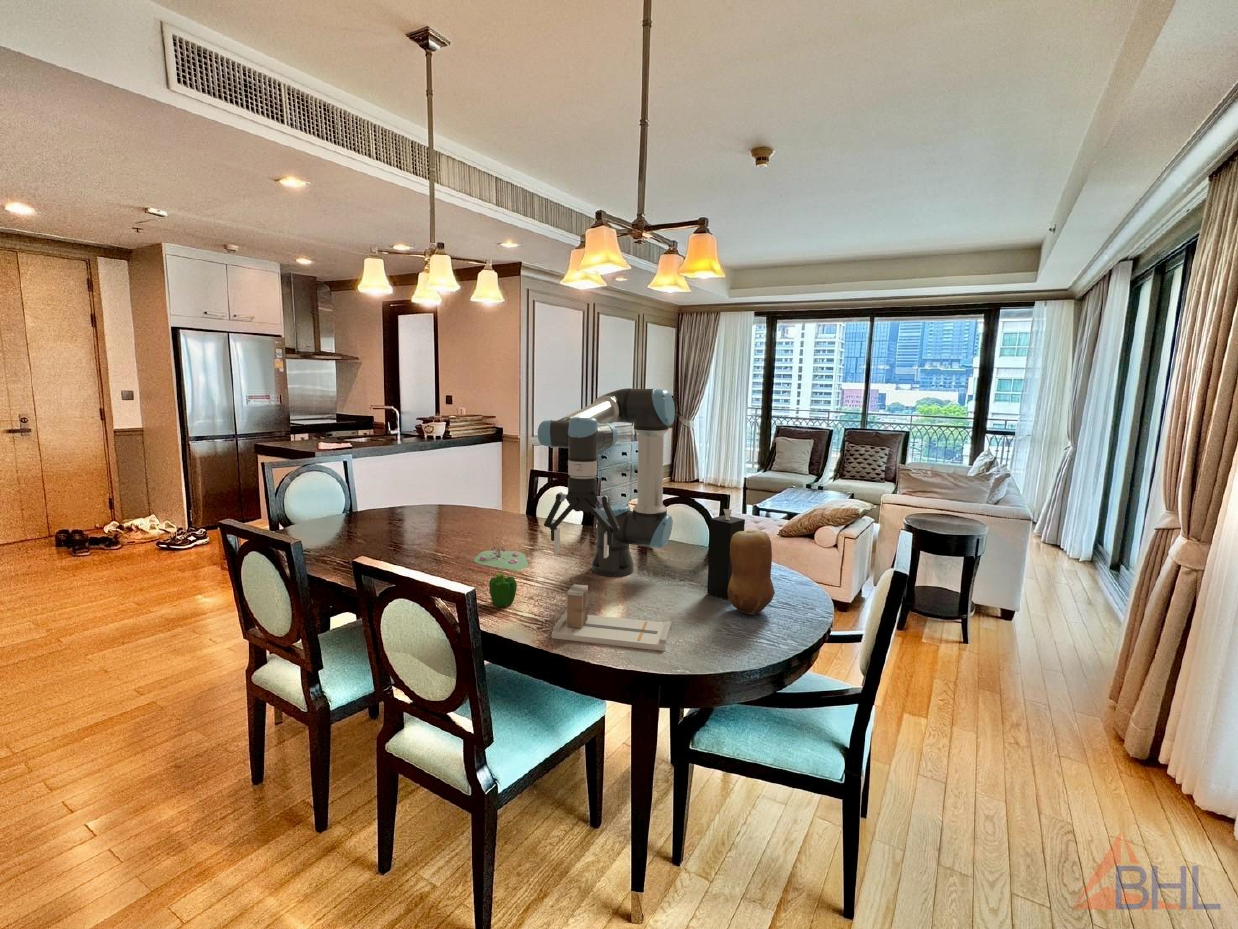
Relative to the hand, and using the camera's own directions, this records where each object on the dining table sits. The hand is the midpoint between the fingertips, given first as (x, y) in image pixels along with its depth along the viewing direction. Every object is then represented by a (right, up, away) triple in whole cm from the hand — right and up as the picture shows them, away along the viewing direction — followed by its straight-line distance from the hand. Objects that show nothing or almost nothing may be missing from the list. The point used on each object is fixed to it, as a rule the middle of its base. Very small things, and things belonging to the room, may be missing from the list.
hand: (581, 554), depth 159 cm
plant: (-32, -13, +63) cm, 72 cm away
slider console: (+8, -21, +1) cm, 23 cm away
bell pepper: (-25, -18, +20) cm, 37 cm away
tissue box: (+44, -18, +32) cm, 57 cm away
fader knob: (-1, -19, +3) cm, 19 cm away
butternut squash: (+49, -20, +17) cm, 55 cm away
